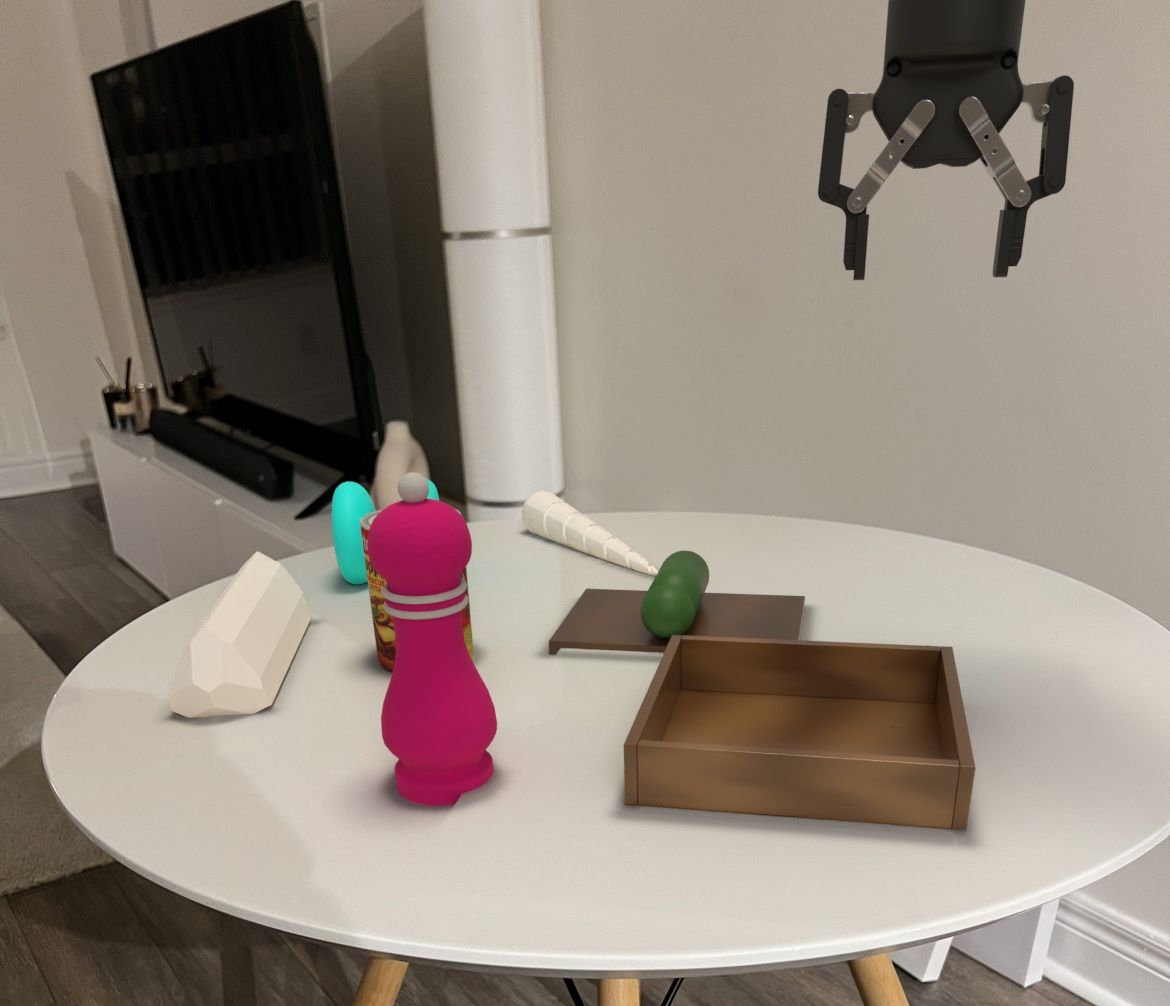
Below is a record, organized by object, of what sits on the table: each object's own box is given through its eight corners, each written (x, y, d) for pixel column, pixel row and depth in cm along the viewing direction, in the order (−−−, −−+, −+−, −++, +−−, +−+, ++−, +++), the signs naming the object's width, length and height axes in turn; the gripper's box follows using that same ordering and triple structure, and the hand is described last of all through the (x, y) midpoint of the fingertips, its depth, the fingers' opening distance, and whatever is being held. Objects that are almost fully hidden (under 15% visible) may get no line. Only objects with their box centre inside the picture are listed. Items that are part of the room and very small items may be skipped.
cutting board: (804, 611, 98) (805, 595, 98) (795, 670, 86) (796, 652, 86) (586, 603, 103) (585, 588, 102) (549, 658, 91) (548, 641, 90)
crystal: (284, 674, 79) (329, 575, 100) (186, 631, 77) (253, 540, 98) (248, 757, 82) (299, 644, 103) (152, 718, 80) (225, 611, 101)
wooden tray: (944, 712, 78) (952, 646, 76) (964, 845, 62) (975, 766, 60) (671, 697, 82) (671, 634, 80) (624, 818, 66) (623, 744, 64)
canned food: (358, 667, 90) (338, 522, 85) (424, 638, 96) (409, 500, 90) (428, 686, 86) (412, 535, 81) (493, 655, 92) (481, 511, 86)
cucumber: (668, 595, 100) (659, 548, 99) (716, 587, 99) (707, 540, 97) (642, 650, 88) (630, 598, 87) (695, 642, 87) (685, 589, 85)
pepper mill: (424, 755, 75) (388, 457, 66) (520, 769, 73) (497, 461, 63) (368, 804, 69) (321, 483, 60) (471, 821, 67) (438, 490, 58)
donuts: (442, 592, 107) (432, 489, 103) (339, 598, 107) (324, 495, 102) (447, 563, 116) (437, 467, 111) (351, 568, 116) (338, 472, 111)
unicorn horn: (628, 587, 106) (627, 538, 104) (520, 535, 125) (517, 493, 123) (669, 579, 108) (669, 530, 106) (557, 529, 127) (555, 487, 125)
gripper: (828, -39, 60) (811, 285, 68) (1108, -63, 57) (1057, 279, 65) (832, -17, 67) (815, 277, 74) (1083, -37, 64) (1040, 271, 71)
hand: (928, 278), depth 69 cm, fingers open, 8 cm apart
